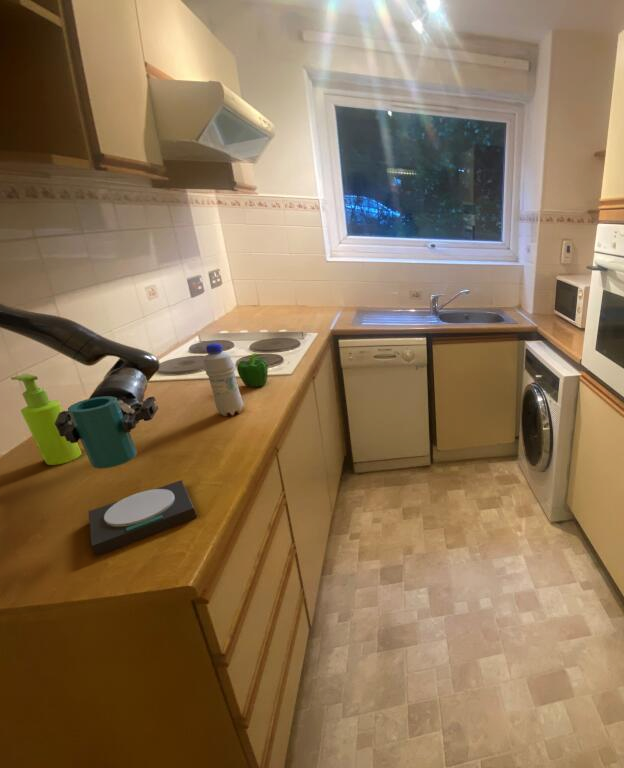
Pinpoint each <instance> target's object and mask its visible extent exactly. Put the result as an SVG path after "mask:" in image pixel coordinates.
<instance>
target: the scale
mask: <svg viewBox="0 0 624 768" xmlns="http://www.w3.org/2000/svg"><path fill="white" fill-rule="evenodd" d="M197 517H198V516H197V513H196V510H195V507H194V505H193V503H192V500H191V498H190V496H189V493H188V491H187V488H186V486H185V484H184V482H183V479H181V480H178V481H175V482H171V483H169V484H166V485H162V486H159V487H156V488H152V489H148V490H143V491H140V492H137V493H133V494H131V495H129V496H126V497H125V498H122V499H121V500H117V501H115V502H112V503H109V504H106V505H103V506H100V507H96V508H94V509H91V510H88V521H89V532H90V542H91V543H90V544H91V545H90V546H91V548H92V550H93V553H94V555H95V557H98V556H100V555H104V554H105V553H108V552H111V551H114V550H117V549H119V548H122V547H124V546H127V545H130V544H132V543H134V542H137V541H140V540H142V539H145V538H148V537H150V536H153V535H155V534H157V533H160V532H162V531H165V530H168V529H170V528H173V527H176V526H178V525H181V524H184V523H186V522H188V521H191V520H194V519H196V518H197Z"/></svg>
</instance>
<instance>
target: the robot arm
mask: <svg viewBox="0 0 624 768" xmlns="http://www.w3.org/2000/svg"><path fill="white" fill-rule="evenodd" d="M0 328H1V329H2V330H3V329H4V330H5V331H9V332H12V333H13V334H17V335H20V336H22V337H25V338H27V339H30V340H32V341H35V342H36V343H39V344H41V345H43V346H45V347H47V348H49V349H51V350H54V351H56V352H57V353H58V354H59V353H60V354H61V355H63V356H65V357H67V358H69V359H71V360H73V361H75V362H77V363H80V364H81V365H84V366H87V367H92V366H95V365H96V364H98V363H100V362H101V361H102V360H103V359H105V358H107V357H115V358H118V359H117V360H116V362H115V363H114V364H113V365H112V367H111V368H110V369H109V370H108V371H107V372H106V374H105V375H104V376H103V380H102V381H100V382H99V384H98V385H97V386H96V387H95V389H94V390H93V392H91V394H90V396H89V398H88V399H91V398H95V397H104V396H112V397H116V398H117V401H118V404H119V406H120V409H121V411H122V414H123V419H122V421H121V425H122V428H123V430H124V433H128V432H129V433H131V431H132V430H134V429H135V428H136V426H137V425H138V424H140V421H142V420H143V421H144V422H149V421H151V420H152V419H153V418H154V416H155V415H156V413H157V412H158V410H159V405H158V403H157V400H156V397H155V396H149V397H147V398H146V399H145V396H146V395H145V394H146V391H147V388H148V382H149V381H150V380H151V379H152V378H153V377H154V376H155V374H157V372H158V371H159V369H160V368H161V363H160V359H158V358H157V356H156V355H154V354H153V353H151V352H149V351H147V350H144V349H141V348H137V347H134V346H133V347H132V346H130V345H127V344H123V343H120V342H117V341H114V340H111V339H110V338H107V337H104V336H102V335H101V334H99V333H97V332H95V331H94V330H92V329H89V328H88V327H86V326H84V325H83V324H80V323H78V322H76V321H74V320H72V319H69V318H66V317H62V316H59V315H53V314H46V313H40V312H33V311H29V310H23V309H20V308H16V307H13V306H10V305H8V304H5V303H4V302H1V301H0ZM144 399H145V400H144ZM55 426H56V427H57V429H58V432H59V435H60V436H65V438H66V440H67V441H70V443H76V442H77V443H78V442H79V441H80V438H79V435H78V433H77V431H76V428H75V426H74V424H73V421H72V419H71V417H70V414H69V412H68V410H63V412H60V413H59V415H58V417H57V419H56V421H55Z"/></svg>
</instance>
